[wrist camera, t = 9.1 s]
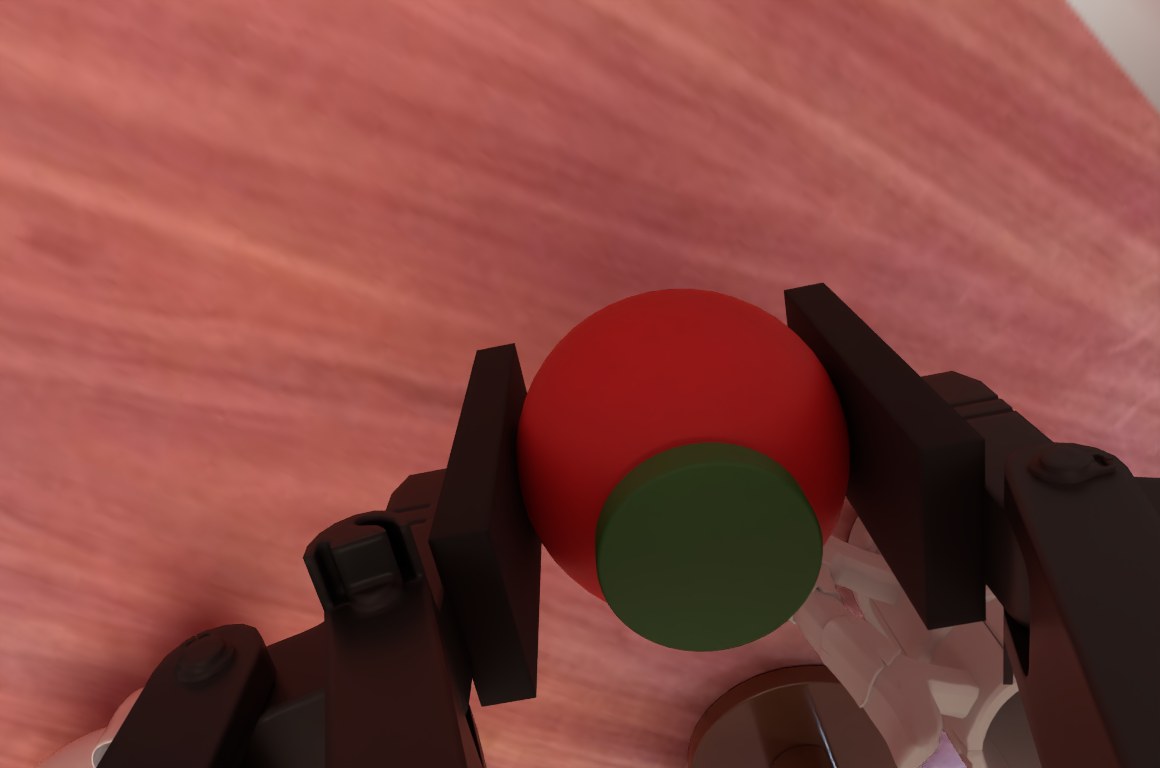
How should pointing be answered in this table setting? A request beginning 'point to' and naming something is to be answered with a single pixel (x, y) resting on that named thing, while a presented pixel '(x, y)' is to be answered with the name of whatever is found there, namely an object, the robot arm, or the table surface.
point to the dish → (788, 725)
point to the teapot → (90, 742)
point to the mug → (915, 664)
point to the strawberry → (685, 465)
